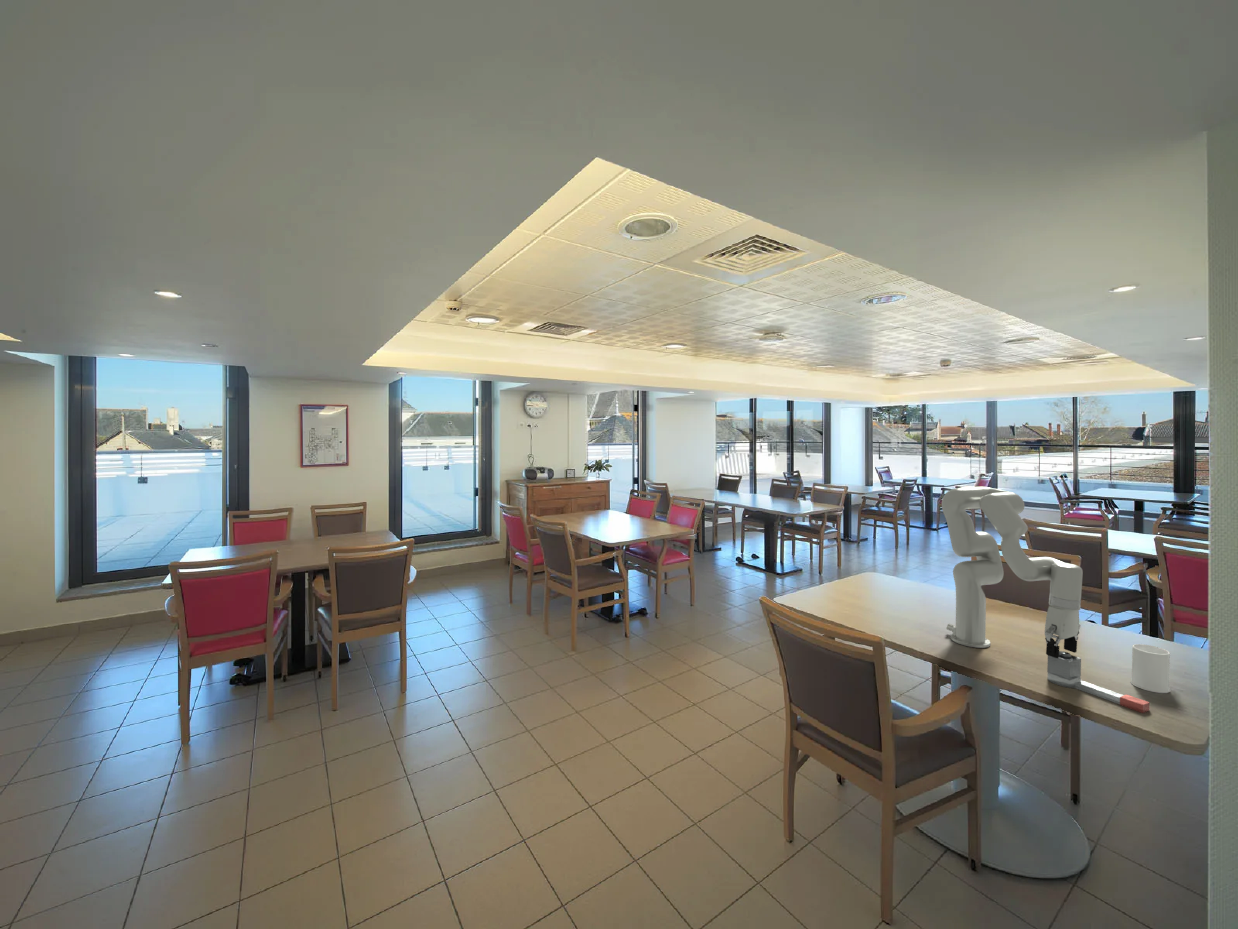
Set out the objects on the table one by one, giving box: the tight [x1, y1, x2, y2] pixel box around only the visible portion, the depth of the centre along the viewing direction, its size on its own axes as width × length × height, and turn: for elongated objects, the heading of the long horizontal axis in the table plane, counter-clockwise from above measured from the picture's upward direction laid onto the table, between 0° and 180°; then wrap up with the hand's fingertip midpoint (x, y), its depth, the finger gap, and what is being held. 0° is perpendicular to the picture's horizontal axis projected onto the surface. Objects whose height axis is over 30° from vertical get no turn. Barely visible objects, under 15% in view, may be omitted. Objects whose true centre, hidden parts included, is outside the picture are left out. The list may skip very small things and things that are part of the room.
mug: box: [1130, 643, 1171, 694], centre depth 156 cm, size 12×8×12 cm
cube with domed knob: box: [1046, 650, 1082, 680], centre depth 160 cm, size 6×6×7 cm
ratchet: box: [1047, 672, 1150, 714], centre depth 153 cm, size 24×8×6 cm, turn 22°
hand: (1061, 653), depth 161 cm, fingers open, 9 cm apart
